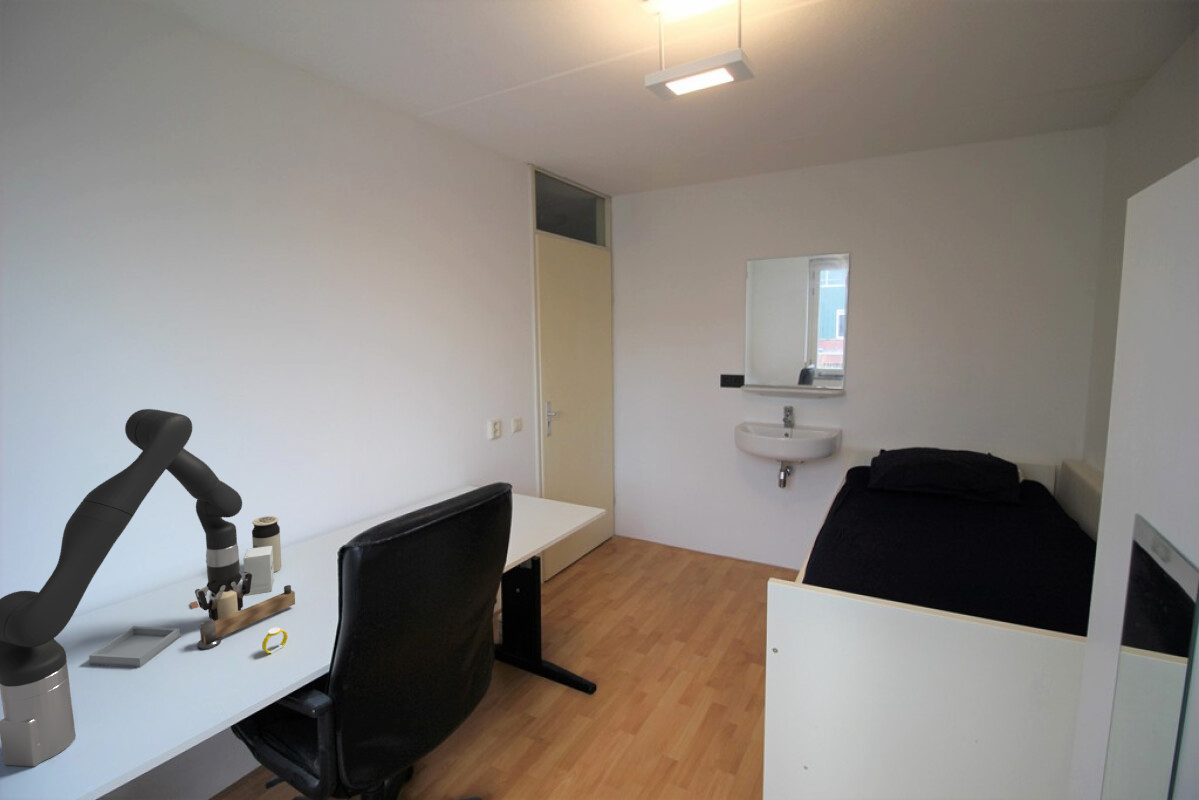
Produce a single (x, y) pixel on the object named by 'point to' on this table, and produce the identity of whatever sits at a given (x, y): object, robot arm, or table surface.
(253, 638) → the table surface
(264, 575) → the supplement box
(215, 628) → the crank lever
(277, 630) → the watch
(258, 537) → the travel mug
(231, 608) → the candle
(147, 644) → the tray
